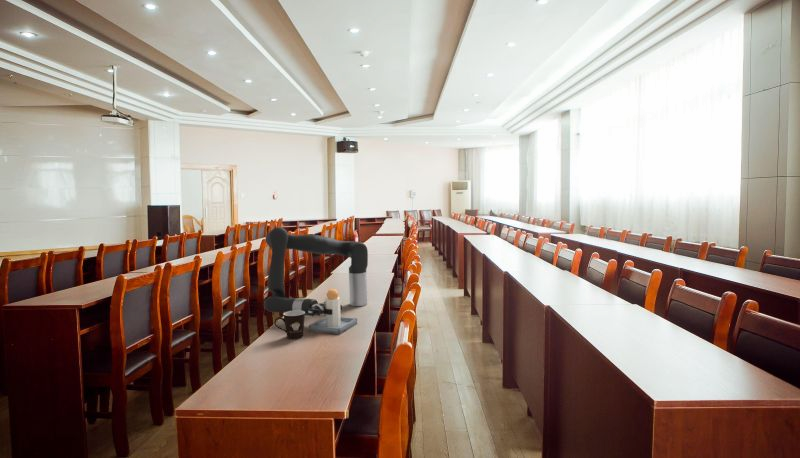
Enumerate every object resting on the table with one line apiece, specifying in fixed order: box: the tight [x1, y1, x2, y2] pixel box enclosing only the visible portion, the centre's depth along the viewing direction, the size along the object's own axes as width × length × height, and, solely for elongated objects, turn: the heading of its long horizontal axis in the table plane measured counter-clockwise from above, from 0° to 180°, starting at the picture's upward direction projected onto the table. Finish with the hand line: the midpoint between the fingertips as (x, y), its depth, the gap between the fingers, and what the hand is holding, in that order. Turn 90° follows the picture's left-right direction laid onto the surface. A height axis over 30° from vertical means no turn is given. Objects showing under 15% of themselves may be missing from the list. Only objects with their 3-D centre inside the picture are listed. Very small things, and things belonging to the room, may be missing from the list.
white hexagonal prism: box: [324, 296, 342, 327], centre depth 193 cm, size 6×6×12 cm
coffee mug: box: [274, 310, 306, 340], centre depth 181 cm, size 12×9×10 cm
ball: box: [326, 288, 339, 299], centre depth 192 cm, size 5×5×5 cm
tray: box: [308, 316, 358, 335], centre depth 193 cm, size 16×15×2 cm
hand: (337, 309), depth 192 cm, fingers open, 8 cm apart
